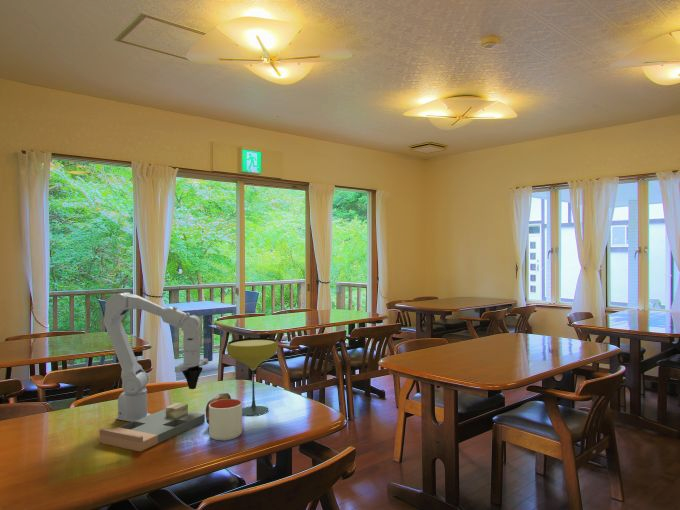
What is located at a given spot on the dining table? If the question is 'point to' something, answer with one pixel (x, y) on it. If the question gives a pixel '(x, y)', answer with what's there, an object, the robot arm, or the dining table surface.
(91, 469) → the dining table surface
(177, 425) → the board
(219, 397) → the tin
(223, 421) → the cup
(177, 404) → the beech block
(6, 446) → the dining table surface
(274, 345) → the cocktail glass
